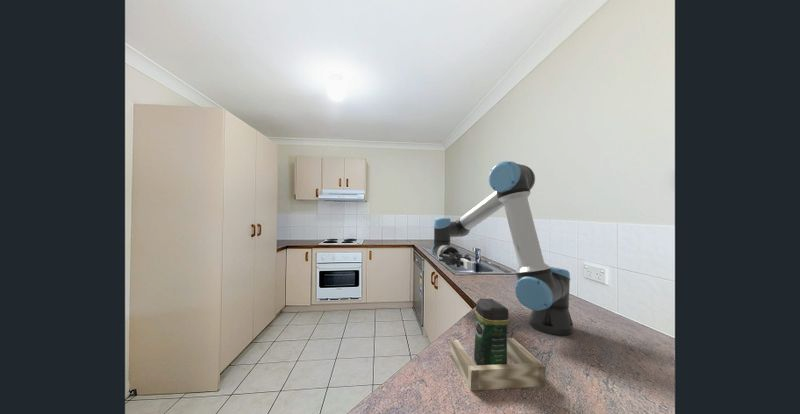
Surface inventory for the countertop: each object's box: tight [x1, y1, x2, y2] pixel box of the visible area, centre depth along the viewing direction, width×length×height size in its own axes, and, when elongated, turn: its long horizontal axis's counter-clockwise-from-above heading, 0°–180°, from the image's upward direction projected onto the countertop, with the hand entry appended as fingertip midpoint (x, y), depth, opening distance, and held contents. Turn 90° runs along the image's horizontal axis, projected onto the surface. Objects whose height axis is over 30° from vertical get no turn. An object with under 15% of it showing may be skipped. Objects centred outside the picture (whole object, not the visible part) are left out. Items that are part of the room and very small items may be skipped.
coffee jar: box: [473, 298, 510, 366], centre depth 82 cm, size 10×8×19 cm
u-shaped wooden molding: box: [449, 337, 547, 392], centre depth 80 cm, size 20×16×5 cm
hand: (468, 265), depth 100 cm, fingers closed
